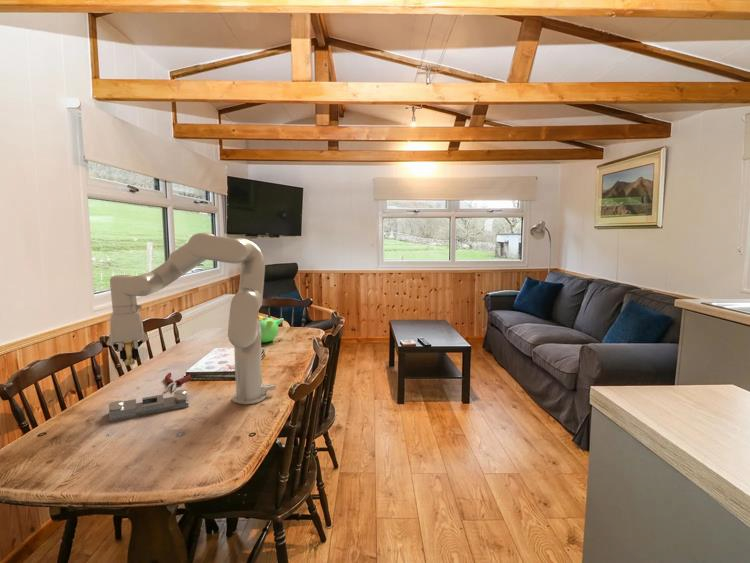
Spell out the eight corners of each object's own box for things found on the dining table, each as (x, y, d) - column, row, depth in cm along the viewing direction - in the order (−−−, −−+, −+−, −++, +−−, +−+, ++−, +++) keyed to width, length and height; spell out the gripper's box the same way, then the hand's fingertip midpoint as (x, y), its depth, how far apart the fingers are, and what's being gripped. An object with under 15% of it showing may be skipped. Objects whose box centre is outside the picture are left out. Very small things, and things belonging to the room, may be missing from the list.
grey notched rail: (186, 398, 157) (186, 386, 156) (189, 406, 150) (188, 394, 149) (110, 412, 145) (109, 400, 145) (108, 422, 138) (107, 409, 137)
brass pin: (136, 361, 153) (134, 337, 152) (136, 364, 150) (134, 340, 148) (123, 363, 151) (121, 339, 150) (123, 366, 148) (121, 341, 147)
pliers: (152, 395, 161) (152, 389, 160) (168, 377, 180) (167, 371, 180) (184, 393, 163) (184, 387, 162) (196, 376, 182) (195, 370, 182)
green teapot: (257, 337, 244) (256, 312, 242) (285, 338, 242) (284, 313, 240) (243, 345, 227) (242, 319, 225) (273, 346, 224) (272, 320, 222)
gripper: (151, 305, 155) (155, 353, 157) (98, 310, 147) (103, 360, 150) (151, 309, 148) (155, 359, 151) (96, 314, 141) (101, 366, 143)
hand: (129, 359), depth 150 cm, fingers closed on brass pin, 3 cm apart
